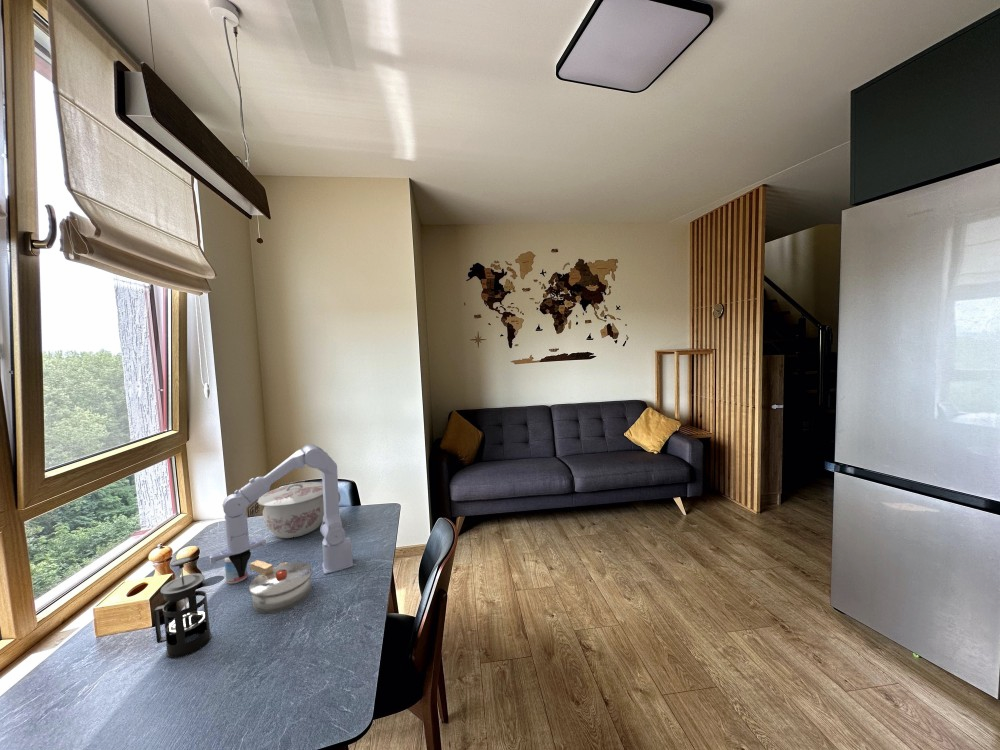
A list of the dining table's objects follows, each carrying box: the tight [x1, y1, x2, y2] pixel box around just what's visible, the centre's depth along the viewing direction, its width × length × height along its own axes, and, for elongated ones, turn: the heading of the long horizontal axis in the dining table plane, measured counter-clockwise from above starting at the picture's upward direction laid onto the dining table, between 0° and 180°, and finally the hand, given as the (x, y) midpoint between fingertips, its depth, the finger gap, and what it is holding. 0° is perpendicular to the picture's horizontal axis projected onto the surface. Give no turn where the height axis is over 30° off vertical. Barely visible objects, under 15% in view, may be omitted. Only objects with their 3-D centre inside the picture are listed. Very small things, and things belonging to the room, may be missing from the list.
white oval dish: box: [251, 561, 313, 615], centre depth 125 cm, size 16×22×5 cm
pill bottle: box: [224, 557, 249, 585], centre depth 133 cm, size 6×6×11 cm
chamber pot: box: [257, 481, 341, 539], centre depth 168 cm, size 28×28×21 cm
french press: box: [153, 556, 212, 659], centre depth 102 cm, size 12×9×23 cm
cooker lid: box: [248, 559, 313, 597], centre depth 123 cm, size 22×17×3 cm
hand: (241, 575), depth 122 cm, fingers closed
